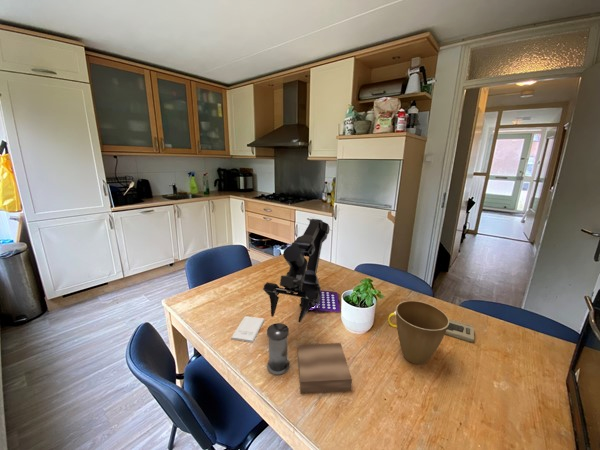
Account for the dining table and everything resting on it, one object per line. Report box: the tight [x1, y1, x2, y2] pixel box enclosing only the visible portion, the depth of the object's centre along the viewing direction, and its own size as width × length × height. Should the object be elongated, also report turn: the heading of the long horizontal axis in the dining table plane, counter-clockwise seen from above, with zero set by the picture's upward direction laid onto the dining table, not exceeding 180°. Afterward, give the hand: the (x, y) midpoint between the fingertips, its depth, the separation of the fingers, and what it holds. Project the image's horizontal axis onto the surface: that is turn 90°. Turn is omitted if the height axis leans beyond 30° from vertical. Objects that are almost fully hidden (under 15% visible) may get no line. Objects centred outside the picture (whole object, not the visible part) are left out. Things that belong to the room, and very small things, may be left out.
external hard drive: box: [230, 315, 265, 344], centre depth 94 cm, size 2×8×12 cm
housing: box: [266, 322, 290, 376], centre depth 76 cm, size 7×7×13 cm
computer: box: [444, 318, 475, 344], centre depth 95 cm, size 16×8×3 cm, turn 59°
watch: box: [387, 310, 397, 328], centre depth 96 cm, size 6×3×6 cm, turn 69°
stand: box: [297, 342, 353, 395], centre depth 76 cm, size 14×14×4 cm
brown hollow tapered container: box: [395, 300, 450, 366], centre depth 80 cm, size 15×15×16 cm
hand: (285, 319), depth 80 cm, fingers open, 9 cm apart
